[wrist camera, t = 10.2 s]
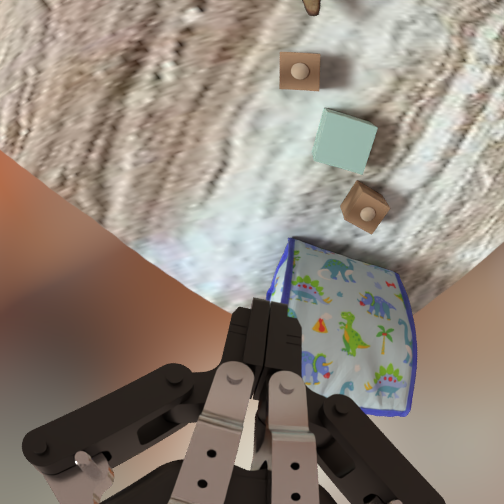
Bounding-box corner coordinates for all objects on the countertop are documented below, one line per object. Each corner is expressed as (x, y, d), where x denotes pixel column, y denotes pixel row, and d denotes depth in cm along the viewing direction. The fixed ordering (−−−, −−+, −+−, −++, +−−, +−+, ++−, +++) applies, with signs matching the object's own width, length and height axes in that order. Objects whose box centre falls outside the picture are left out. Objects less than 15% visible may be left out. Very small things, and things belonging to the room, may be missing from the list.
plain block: (323, 107, 42) (327, 111, 38) (369, 121, 42) (377, 127, 38) (311, 151, 46) (314, 160, 42) (355, 164, 46) (362, 174, 42)
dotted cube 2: (281, 53, 39) (279, 51, 34) (317, 55, 38) (320, 54, 34) (280, 87, 41) (279, 89, 37) (316, 89, 41) (319, 91, 37)
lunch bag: (259, 302, 62) (241, 423, 40) (285, 229, 53) (277, 353, 31) (363, 327, 63) (381, 441, 41) (402, 263, 54) (447, 381, 32)
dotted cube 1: (356, 179, 47) (363, 192, 43) (382, 195, 48) (390, 208, 44) (340, 205, 50) (344, 220, 46) (365, 219, 51) (371, 235, 46)
